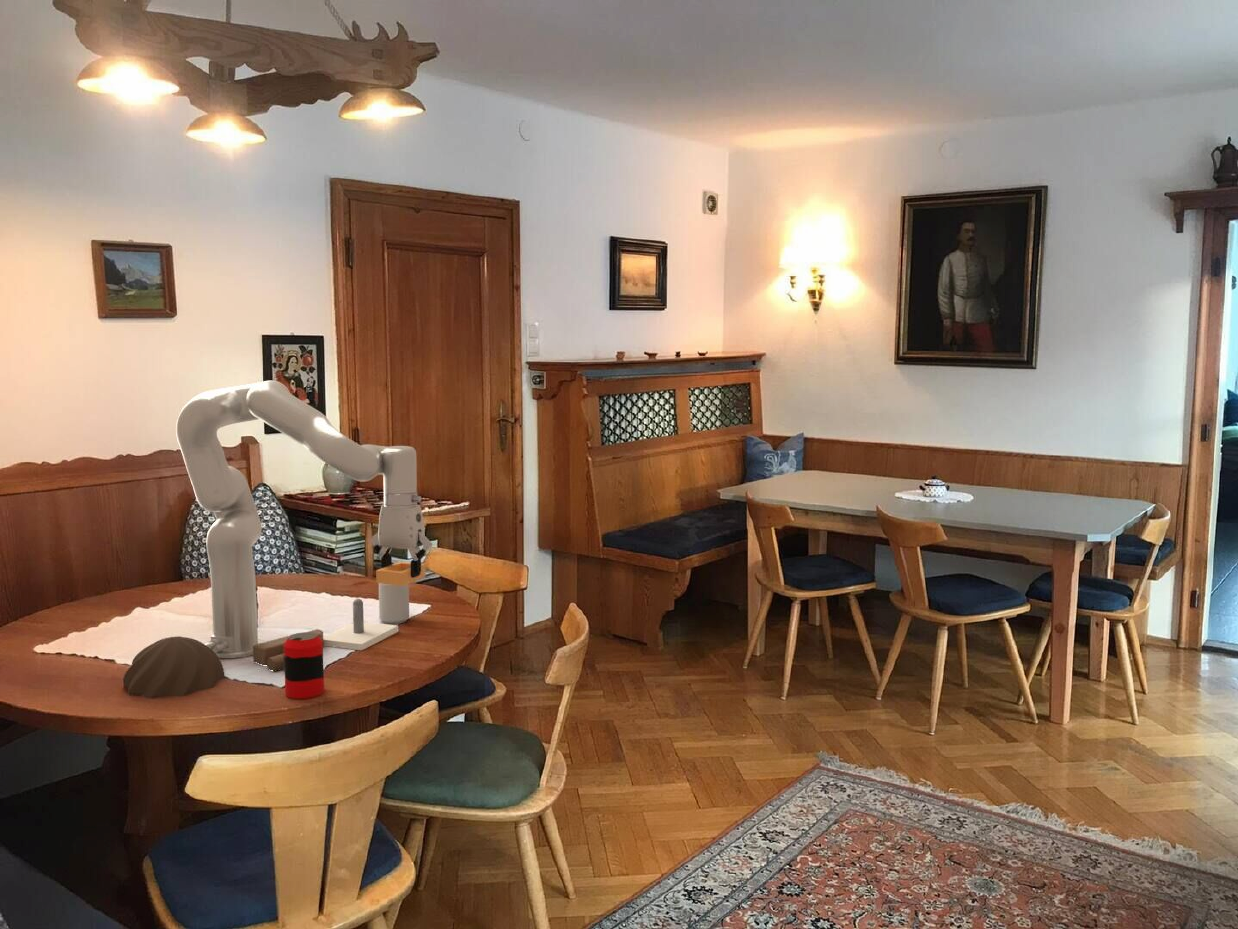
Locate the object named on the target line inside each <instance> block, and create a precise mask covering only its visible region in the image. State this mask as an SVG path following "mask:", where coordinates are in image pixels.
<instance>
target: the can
mask: <svg viewBox="0 0 1238 929" xmlns="http://www.w3.org/2000/svg"><path fill="white" fill-rule="evenodd" d="M409 585H410V583H409V584H407V585H404V586H398V585H389V584H380V583H378V609H379V610H378V611H379V613H378V614H379V620H381V621H382V622H383V624H388V625H396V624H397V625H398V624H402V623H405V622H406V621H407V620H408V619H409V618H410V591H409V590H410V588H409Z"/></svg>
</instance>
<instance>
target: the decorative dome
mask: <svg viewBox="0 0 1238 929" xmlns="http://www.w3.org/2000/svg"><path fill="white" fill-rule="evenodd" d="M205 644H206V643H203V642H202V641H199V640H197V639H194V638H191V637H184V636H170V637H164V638H161V639H159V640H157V641H155V642H154V643H151V644H149V645H148V646H146V647H145V648H143V649H142V650H141V651H139V652H138V653H137V654H136V655H135V656H134V658H133V659H132V661H131V665H130V666H129V667H128V669H127V670H126V671H125V673H124V675H123V681H122V682H123V687H124V688H126V687H127V688H126V689H128V688H129V689H128V690H127V692H126V694H127V695H128V694H129V695H131V696H142V697H144V698H147V699H156V698H157V699H158V698H163V697H184V696H187V695H190V694H192V693H194V692H197V691H198V692H199V691H204V690H209V689H212V688H214V686H215V684H216V683H218V682H220V681H222V680H224V679H225V676H226V675H225V670H224V665H223V663H222V661H221V658H219V657H218V656H217V655H216V654H215V652H214V651H212V650H211V649H210V648H209V647H208V646H206V645H205ZM129 695H128V696H129Z"/></svg>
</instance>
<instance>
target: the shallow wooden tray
mask: <svg viewBox="0 0 1238 929" xmlns="http://www.w3.org/2000/svg"><path fill="white" fill-rule="evenodd" d="M375 575H376V577H375V578H376V581H375V582H376V583H375V584H379V583H380V584H389V585H398V586H404V585H407V584H409V585H410V584H411V583H413V582H416V581H418V580H420V579H423V578H425V577H426V563H421V572H420V575H419V576H417V577H414V578H413V577H411V562H408V561H407V562H406V561H397V562H394V563H392V565H389V566H387V567H384V568H381V567H380V568H379V569H376V574H375Z"/></svg>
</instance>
